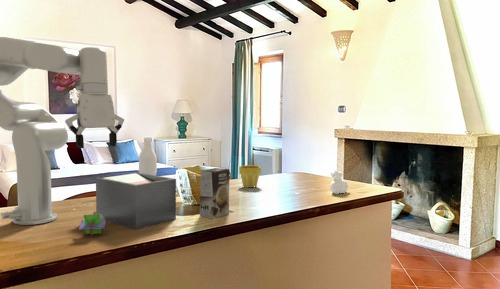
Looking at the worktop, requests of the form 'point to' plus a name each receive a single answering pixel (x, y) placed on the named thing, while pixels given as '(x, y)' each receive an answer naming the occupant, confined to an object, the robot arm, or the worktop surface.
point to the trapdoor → (130, 179)
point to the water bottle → (147, 158)
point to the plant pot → (249, 175)
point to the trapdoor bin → (137, 201)
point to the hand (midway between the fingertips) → (97, 147)
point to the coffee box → (214, 193)
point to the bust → (338, 183)
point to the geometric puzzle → (93, 223)
